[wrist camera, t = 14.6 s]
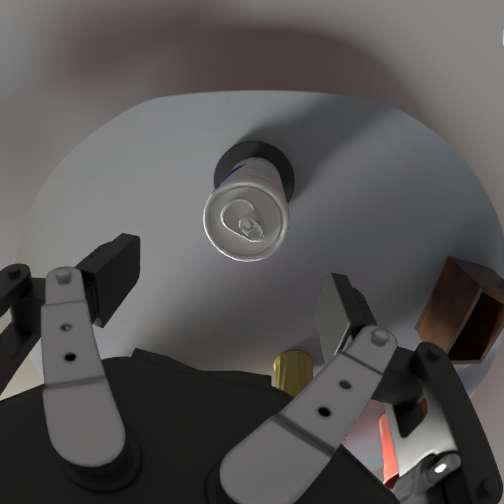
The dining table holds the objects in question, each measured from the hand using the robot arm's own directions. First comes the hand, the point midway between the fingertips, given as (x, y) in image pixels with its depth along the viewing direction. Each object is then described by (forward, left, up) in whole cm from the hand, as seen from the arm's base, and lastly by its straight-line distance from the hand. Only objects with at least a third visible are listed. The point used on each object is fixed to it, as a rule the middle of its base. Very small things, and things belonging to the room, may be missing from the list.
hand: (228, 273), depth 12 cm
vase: (+26, +11, -22) cm, 36 cm away
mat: (0, 0, -22) cm, 22 cm away
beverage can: (0, 0, -22) cm, 22 cm away
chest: (+10, +34, -22) cm, 42 cm away
